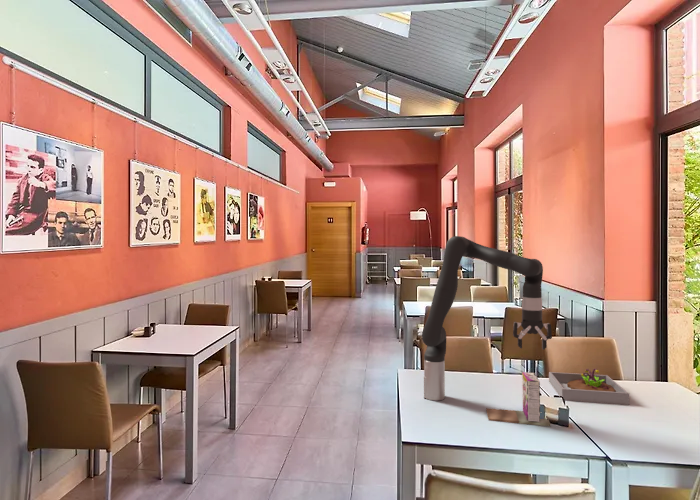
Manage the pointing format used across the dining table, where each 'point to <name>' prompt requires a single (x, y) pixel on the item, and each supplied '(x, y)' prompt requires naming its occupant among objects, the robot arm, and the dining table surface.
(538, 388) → the candy bar box
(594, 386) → the plant
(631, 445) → the dining table surface
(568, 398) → the planter frame
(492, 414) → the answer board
